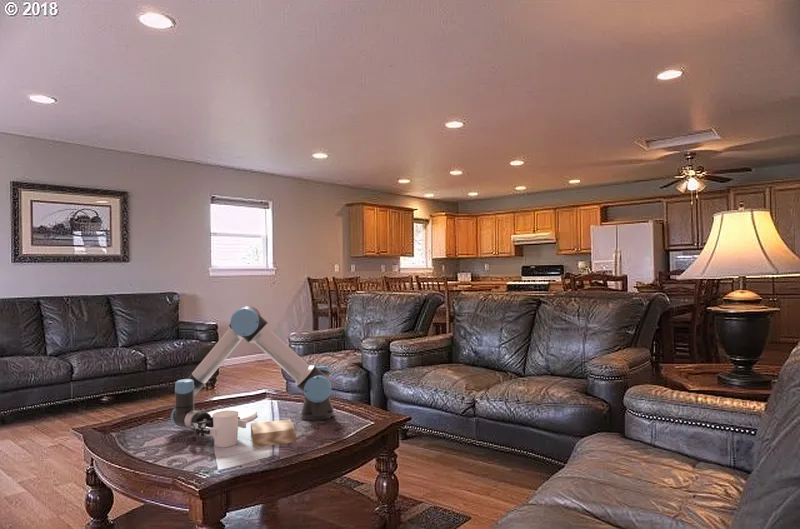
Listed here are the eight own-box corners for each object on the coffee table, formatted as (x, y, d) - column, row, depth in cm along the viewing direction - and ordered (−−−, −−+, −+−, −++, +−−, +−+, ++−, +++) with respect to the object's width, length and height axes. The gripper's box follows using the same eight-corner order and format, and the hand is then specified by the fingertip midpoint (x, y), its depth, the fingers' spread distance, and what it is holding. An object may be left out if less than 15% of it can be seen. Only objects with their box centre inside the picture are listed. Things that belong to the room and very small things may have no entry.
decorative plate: (231, 401, 270) (267, 407, 257) (231, 410, 270) (267, 416, 257) (187, 413, 249) (225, 420, 236) (188, 422, 249) (225, 430, 236)
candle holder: (231, 448, 208) (230, 417, 209) (207, 447, 210) (207, 416, 211) (243, 440, 218) (243, 410, 218) (221, 439, 220) (220, 409, 220)
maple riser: (290, 431, 230) (290, 419, 230) (295, 442, 215) (295, 429, 215) (251, 435, 225) (250, 423, 225) (253, 447, 210) (253, 433, 210)
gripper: (224, 422, 235) (256, 430, 222) (170, 437, 215) (203, 447, 202) (224, 405, 235) (256, 412, 223) (170, 418, 215) (202, 426, 202)
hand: (231, 428), depth 212 cm, fingers open, 13 cm apart
